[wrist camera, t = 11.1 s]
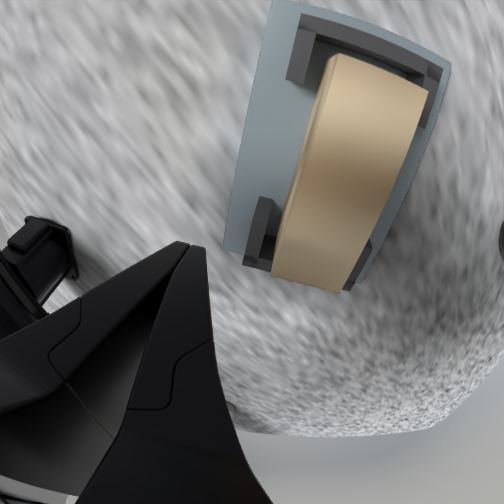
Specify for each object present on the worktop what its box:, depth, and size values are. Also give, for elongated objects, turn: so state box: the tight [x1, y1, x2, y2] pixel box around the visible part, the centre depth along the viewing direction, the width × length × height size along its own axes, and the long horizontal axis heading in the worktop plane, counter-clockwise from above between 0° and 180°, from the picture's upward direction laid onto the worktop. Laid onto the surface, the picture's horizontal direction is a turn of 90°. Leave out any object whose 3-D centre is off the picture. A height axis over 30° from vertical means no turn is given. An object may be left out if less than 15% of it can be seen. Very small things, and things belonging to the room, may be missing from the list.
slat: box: [271, 53, 429, 293], centre depth 12 cm, size 10×4×5 cm, turn 168°
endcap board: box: [222, 0, 452, 291], centre depth 14 cm, size 16×10×4 cm, turn 169°
